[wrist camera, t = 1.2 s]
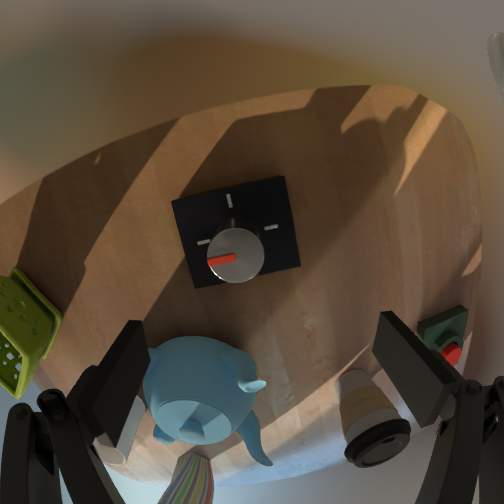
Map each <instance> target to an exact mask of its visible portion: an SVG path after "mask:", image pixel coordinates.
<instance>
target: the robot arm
mask: <svg viewBox="0 0 504 504" xmlns="http://www.w3.org/2000/svg"><path fill="white" fill-rule="evenodd" d="M372 352H373V354H374V355H375V357H376V358H377V360H378V361H379V363H380V364H381V366H382V367H383V369H384V370H385V372H386V374H387V375H388V377H389V378H390V380H391V381H392V383H393V384H394V386H395V387H396V389H397V390H398V392H399V394H400V395H401V397H402V398H403V400H404V401H405V403H406V405H407V406H408V408H409V409H410V411H411V413H412V414H413V416H414V417H415V419H416V421H417V422H418V424H419V426H420V427H421V428H423V427H426V426H429V425H431V424H434V422H435V421H436V419H437V417H438V415H440V417H441V418H442V420H441V422H440V424H439V425H438V427H437V429H436V430H435V432H434V434H433V435H435V434H436V433H437V431H438V433H437V438H436V441H435V445H434V449H433V452H432V456H431V460H430V463H429V466H428V469H427V472H426V475H425V478H424V481H423V484H422V487H421V489H420V492H419V495H418V497H417V500H416V502H415V504H472V500H473V496H474V492H475V487H476V482H477V477H478V475H479V504H504V376H498V377H497V378H496V379H495V380H494V383H493V384H492V385H490V386H489V385H488V386H482V385H481V384H480V383H479V382H478V381H475V380H470V379H468V380H465V379H464V378H463V377H462V376H461V375H460V374H459V373H458V371H457V370H456V369H455V368H454V367H453V366H452V365H450V363H449V362H448V361H447V360H446V359H445V358H444V356H443V355H442V354H441V353H439V352H437V351H436V350H434V349H430V350H429V349H428V348H427V347H426V346H425V344H424V343H423V342H422V341H421V340H420V339H419V338H418V337H417V336H416V335H415V334H414V333H413V332H412V331H411V330H410V329H409V328H408V327H407V326H406V325H405V324H404V323H403V322H402V321H401V320H400V319H399V318H398V316H397V315H396V314H395V313H394V312H393V311H384V312H380V317H379V322H378V326H377V331H376V336H375V340H374V344H373V349H372ZM150 362H151V359H150V355H149V351H148V347H147V342H146V338H145V334H144V329H143V324H142V321H141V320H129V321H128V322H127V324H126V325H125V327H124V328H123V329H122V331H121V332H120V334H119V335H118V337H117V338H116V340H115V341H114V343H113V344H112V346H111V347H110V349H109V350H108V352H107V353H106V355H105V356H104V358H103V359H102V361H101V362H100V364H99V366H94V365H91V366H90V367H88V368H87V369H86V370H84V372H83V373H82V375H81V376H80V377H79V379H78V380H77V382H76V385H74V386H73V388H72V390H71V391H70V393H69V394H68V396H67V397H66V398H65V396H64V394H63V392H62V391H60V390H58V389H48V390H45V391H43V392H42V393H41V394H40V395H39V396H38V398H37V405H38V406H39V408H40V409H41V411H42V412H33V410H32V409H31V407H30V406H29V405H28V404H26V403H18V404H16V405H14V406H13V407H12V408H11V409H10V411H9V414H8V418H7V424H6V430H5V436H4V443H3V452H2V462H1V476H0V504H63V503H62V495H61V487H60V478H59V468H60V471H61V474H62V477H63V479H64V482H65V485H66V487H67V490H68V492H69V495H70V497H71V499H72V502H73V504H126V503H125V502H124V500H123V499H122V497H121V495H120V494H119V492H118V490H117V488H116V487H115V485H114V483H113V482H112V480H111V478H110V476H109V474H108V472H107V470H106V468H105V467H104V465H103V462H102V460H101V458H100V456H99V454H98V452H97V450H96V448H95V446H94V445H93V442H94V440H95V437H96V439H97V440H98V442H99V443H100V445H103V446H107V447H111V448H115V449H116V447H117V444H118V441H119V439H120V436H121V433H122V431H123V428H124V425H125V423H126V420H127V418H128V415H129V413H130V410H131V408H132V405H133V403H134V400H135V398H136V395H137V393H138V390H139V388H140V386H141V383H142V381H143V378H144V376H145V374H146V371H147V369H148V367H149V364H150ZM497 416H498V422H497V421H496V418H497Z"/></svg>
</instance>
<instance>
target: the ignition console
mask: <svg viewBox="0 0 504 504" xmlns="http://www.w3.org/2000/svg"><path fill="white" fill-rule="evenodd" d="M467 316H468V309H467V308H465V307H464V306H463V305H459V306H457V307H455V308H453V309H450V310H448V311H446V312H443V313H441V314H439V315H436V316H434V317H431V318H429V319H426V320H424V321H421V322H419V323H418V328H417V337H418V338H419V339H420V340H421V341H422V342H423V343H424V344H425V346H426V347H427V348H428V349H429V350H430V349H434V350H436V351H437V352H439V353H441V352H442V351H443V349H444V348H445V347H446V346H447V345H448V344H451V343H455V344H456V345H457V346H458V347H459V348H460V349H461V351H462V348H463V343H464V342H463V337H464V332H465V327H466V322H467ZM457 362H458V361H457ZM457 362H456V363H455V364H457ZM455 364H454V365H455Z"/></svg>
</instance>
